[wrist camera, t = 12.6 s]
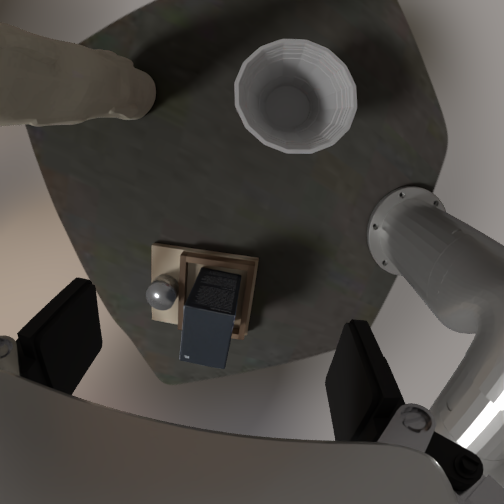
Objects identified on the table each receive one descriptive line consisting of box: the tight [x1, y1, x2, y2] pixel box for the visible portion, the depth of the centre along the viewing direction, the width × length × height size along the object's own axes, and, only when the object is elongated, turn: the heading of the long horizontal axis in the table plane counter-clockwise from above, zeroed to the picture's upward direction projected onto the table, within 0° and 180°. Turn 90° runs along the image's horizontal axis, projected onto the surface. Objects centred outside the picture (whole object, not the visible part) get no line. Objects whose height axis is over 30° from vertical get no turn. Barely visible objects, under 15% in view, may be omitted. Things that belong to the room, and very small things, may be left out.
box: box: [179, 267, 241, 369], centre depth 39 cm, size 8×6×11 cm
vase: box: [0, 22, 156, 126], centre depth 21 cm, size 9×8×30 cm
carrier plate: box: [146, 243, 259, 340], centre depth 43 cm, size 14×12×4 cm
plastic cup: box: [234, 39, 357, 154], centre depth 30 cm, size 11×11×12 cm
